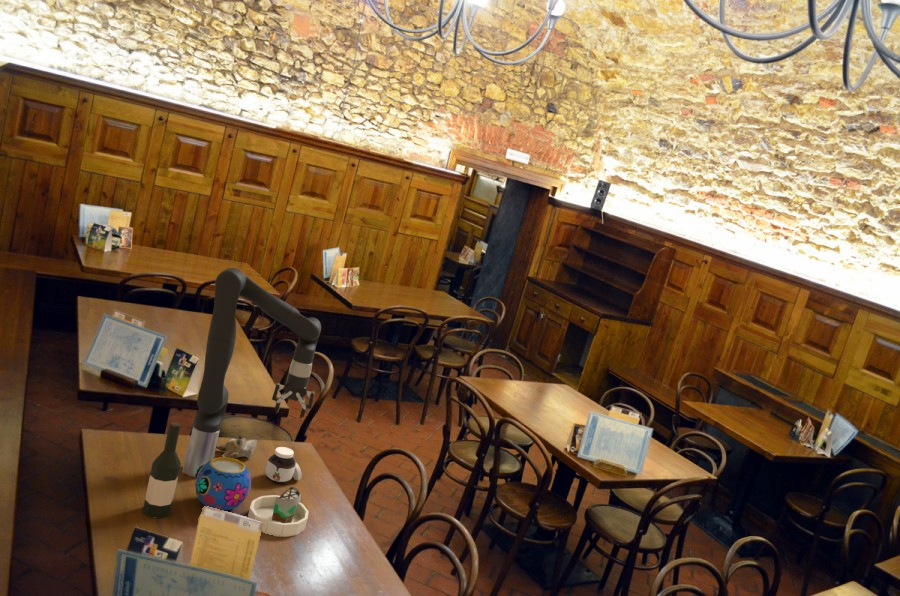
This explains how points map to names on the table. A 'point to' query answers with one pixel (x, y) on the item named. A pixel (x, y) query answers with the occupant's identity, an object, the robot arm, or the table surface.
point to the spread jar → (282, 466)
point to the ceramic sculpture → (238, 448)
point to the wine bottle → (163, 477)
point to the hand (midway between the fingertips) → (289, 415)
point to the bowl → (264, 512)
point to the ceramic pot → (222, 483)
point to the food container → (286, 505)
